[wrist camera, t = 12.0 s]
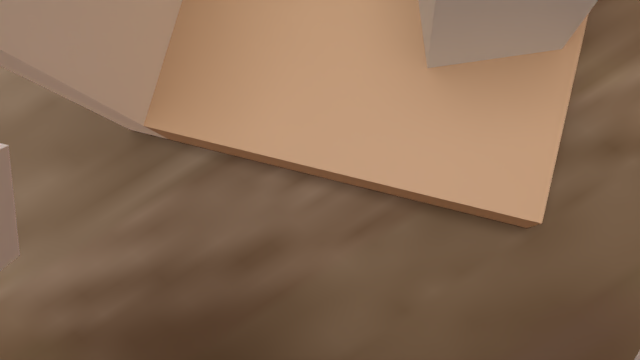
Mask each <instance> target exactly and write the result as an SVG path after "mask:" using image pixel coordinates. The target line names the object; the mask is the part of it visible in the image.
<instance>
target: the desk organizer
mask: <svg viewBox="0 0 640 360" xmlns="http://www.w3.org/2000/svg"><path fill="white" fill-rule="evenodd" d="M588 14H589V13H588ZM587 19H588V15H587V16H586V17H585V19H584V20H583V21H582V23H581V24H580V25H579V27H578V28H577V29H576V31H575V32H574V34H573V35H572V36H571V38H570V39H569V40H568V42H567V43H566V44H565V46H564V47H563V48H562V49H559V50H552V51H545V52H538V53H531V54H524V55H517V56H510V57H503V58H496V59H489V60H481V61H474V62H467V63H460V64H453V65H446V66H439V67H432V68H427V62H426V54H425V47H424V39H423V32H422V24H421V17H420V9H419V2H418V0H0V66H1V67H3V68H6V69H8V70H10V71H12V72H14V73H16V74H18V75H20V76H22V77H24V78H26V79H28V80H30V81H32V82H34V83H36V84H38V85H40V86H42V87H44V88H46V89H48V90H50V91H52V92H54V93H56V94H58V95H60V96H62V97H64V98H66V99H68V100H70V101H73V102H75V103H77V104H79V105H81V106H83V107H85V108H87V109H89V110H91V111H93V112H95V113H97V114H99V115H101V116H103V117H105V118H107V119H109V120H111V121H113V122H115V123H117V124H119V125H121V126H123V127H125V128H127V129H129V130H133V131H137V132H141V133H145V134H149V135H153V136H157V137H161V138H165V139H169V140H173V141H177V142H182V143H186V144H190V145H194V146H198V147H202V148H206V149H210V150H214V151H218V152H222V153H226V154H230V155H234V156H238V157H242V158H246V159H250V160H254V161H258V162H262V163H266V164H270V165H274V166H278V167H282V168H286V169H290V170H294V171H299V172H303V173H307V174H311V175H315V176H319V177H323V178H327V179H331V180H335V181H339V182H343V183H347V184H351V185H355V186H359V187H363V188H367V189H371V190H375V191H379V192H383V193H387V194H391V195H395V196H399V197H403V198H407V199H412V200H416V201H420V202H424V203H428V204H432V205H436V206H440V207H444V208H448V209H452V210H456V211H460V212H464V213H468V214H472V215H476V216H480V217H484V218H488V219H492V220H496V221H500V222H504V223H508V224H512V225H516V226H520V227H524V228H528V227H532V226H535V225H539V224H542V221H543V216H544V212H545V207H546V203H547V198H548V194H549V189H550V185H551V180H552V176H553V171H554V167H555V162H556V158H557V153H558V149H559V144H560V140H561V135H562V131H563V126H564V122H565V117H566V113H567V108H568V104H569V99H570V95H571V90H572V86H573V81H574V77H575V72H576V68H577V63H578V59H579V54H580V50H581V45H582V41H583V37H584V32H585V28H586V23H587Z"/></svg>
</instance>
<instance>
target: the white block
mask: <svg viewBox="0 0 640 360" xmlns="http://www.w3.org/2000/svg"><path fill="white" fill-rule="evenodd" d="M597 1H598V0H418V2H419V9H420V17H421V24H422V32H423V39H424V47H425V54H426V62H427V68H432V67H439V66H446V65H453V64H460V63H467V62H474V61H481V60H489V59H496V58H503V57H510V56H517V55H524V54H531V53H538V52H545V51H552V50H559V49H562V48H563V47H564V46H565V44H566V43H567V42H568V40H569V39H570V38H571V36H572V35H573V34H574V32H575V31H576V29H577V28H578V27H579V25H580V24H581V23H582V21H583V20H584V19H585V17H586V16H587V15H588V13H589V12H590V10H591V9H592V8H593V6H594V5H595V4H596V2H597Z"/></svg>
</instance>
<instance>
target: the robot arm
mask: <svg viewBox="0 0 640 360" xmlns="http://www.w3.org/2000/svg"><path fill="white" fill-rule="evenodd" d="M19 256H20V251H19V241H18V232H17V222H16V212H15V203H14V193H13V183H12V174H11V164H10V154H9V145H5V144H1V143H0V271H1V270H2V269H4V268H5V267H6V266H7V265H9V264H10V263H11V262H12V261H14V260H15V259H16V258H17V257H19ZM635 360H640V351H639V352H638V354H637V356H636V358H635Z"/></svg>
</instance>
